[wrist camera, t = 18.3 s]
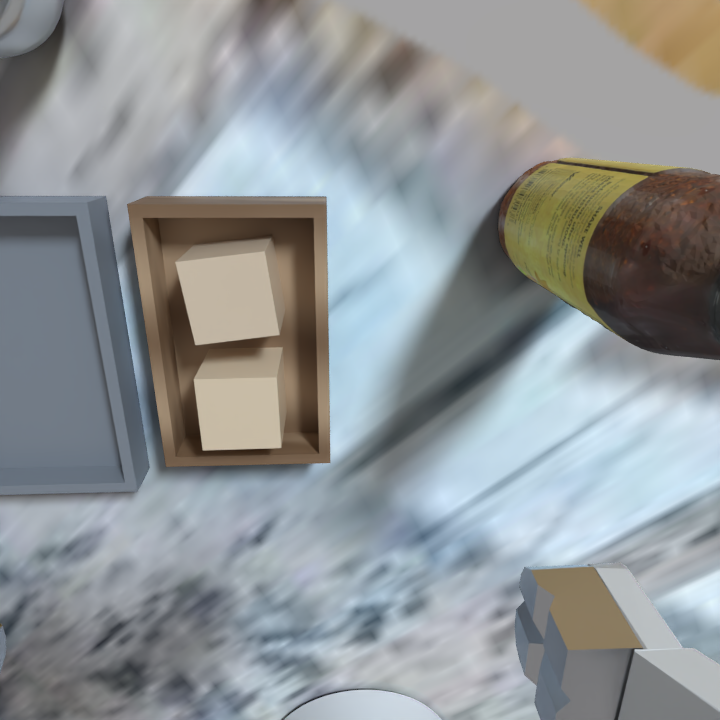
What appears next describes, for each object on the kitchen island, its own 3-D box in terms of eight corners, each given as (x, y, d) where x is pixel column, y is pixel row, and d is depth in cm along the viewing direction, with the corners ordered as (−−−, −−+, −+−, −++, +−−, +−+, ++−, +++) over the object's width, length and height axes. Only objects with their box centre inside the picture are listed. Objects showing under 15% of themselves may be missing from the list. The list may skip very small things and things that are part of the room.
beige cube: (272, 234, 29) (264, 251, 25) (285, 309, 30) (279, 335, 27) (194, 244, 29) (175, 262, 25) (211, 318, 30) (195, 345, 27)
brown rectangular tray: (329, 435, 34) (330, 463, 31) (179, 438, 34) (165, 466, 31) (326, 196, 29) (326, 204, 26) (146, 196, 28) (127, 204, 26)
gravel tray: (149, 467, 34) (137, 491, 32) (-55, 472, 34) (-82, 496, 32) (106, 196, 28) (87, 202, 26) (-146, 195, 28) (-187, 202, 25)
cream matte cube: (282, 347, 31) (276, 377, 28) (286, 411, 33) (281, 448, 29) (209, 348, 31) (193, 379, 27) (216, 413, 33) (202, 450, 29)
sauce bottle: (505, 289, 31) (756, 525, 13) (482, 176, 29) (750, 269, 11) (621, 254, 31) (1051, 446, 13) (608, 136, 28) (1116, 161, 10)
